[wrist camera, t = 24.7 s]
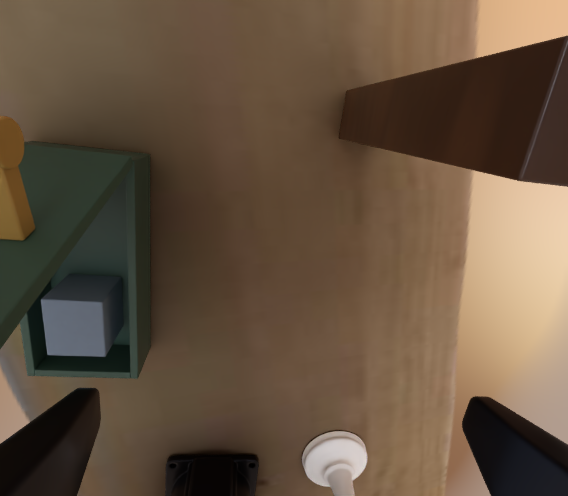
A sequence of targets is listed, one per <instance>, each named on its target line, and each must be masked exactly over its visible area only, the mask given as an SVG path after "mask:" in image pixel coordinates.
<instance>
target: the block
mask: <svg viewBox="0 0 568 496" xmlns="http://www.w3.org/2000/svg"><path fill="white" fill-rule="evenodd" d="M41 305H42V313H43V322H44V330H45V338H46V346H47V354H48V355H63V356H96V357H105V356H106V355H107V353H108V351H109V350H110V348H111V346H112V344H113V343H114V341H115V339H116V337H117V336H118V334H119V332H120V330H121V329H122V327H123V302H122V278H121V277H113V276H97V275H80V274H68V275H67V276H66V277H65V278H64V279H63V280H62V281H61V282H59V283H58V284H57V285H56V286H55V287H54V288H53V289H52V290H51V291H50V292H48V293H47V294H46V295H45V296H44V297H43V298H42V299H41Z"/></svg>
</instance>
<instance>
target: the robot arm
mask: <svg viewBox="0 0 568 496" xmlns="http://www.w3.org/2000/svg"><path fill="white" fill-rule="evenodd" d="M100 420H101V413H100V397H99V391H98V390H97V389H96V388H78V389H76V390H74V391H73V392H71V393H70V394H69V395H67V396H66V397H64V398H63V399H62V400H60V401H59V402H58V403H56V404H55V405H53V406H52V407H51V408H49V409H48V410H47V411H45V412H44V413H42V414H41V415H40V416H38V417H37V418H35V419H34V420H33V421H31V422H30V423H29V424H27V425H26V426H24V427H23V428H22V429H20V430H19V431H18V432H16V433H15V434H13V435H12V436H11V437H9V438H8V439H6V440H5V441H4V442H2V443H1V444H0V496H77V494H78V491H79V488H80V485H81V482H82V479H83V476H84V472H85V469H86V466H87V463H88V460H89V457H90V454H91V451H92V448H93V445H94V442H95V439H96V436H97V433H98V430H99V426H100ZM462 428H463V432H464V434H465V436H466V439H467V441H468V443H469V446H470V448H471V450H472V452H473V455H474V457H475V460H476V462H477V464H478V466H479V469H480V472H481V474H482V476H483V479H484V481H485V483H486V485H487V488H488V490H489V492H490V494H491V496H568V445H567V444H566V443H564V442H562V441H560V440H559V439H558V438H556V437H554V436H553V435H551V434H549V433H548V432H546V431H544V430H543V429H541V428H539V427H538V426H536V425H534V424H533V423H531V422H530V421H528V420H526V419H525V418H523V417H521V416H520V415H518V414H516V413H515V412H513V411H512V410H510V409H508V408H507V407H505V406H503V405H502V404H500V403H498V402H496V401H495V400H493V399H491V398H489V397H478V396H477V397H473V398H471V400H470V402H469V404H468V407H467V410H466V412H465V415H464V418H463V421H462ZM258 466H259V464H258V458H257V457H256V456H253V455H194V456H171V457H169V458H168V459H167V463H166V491H165V496H255V488H256V481H257V473H258Z"/></svg>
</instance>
